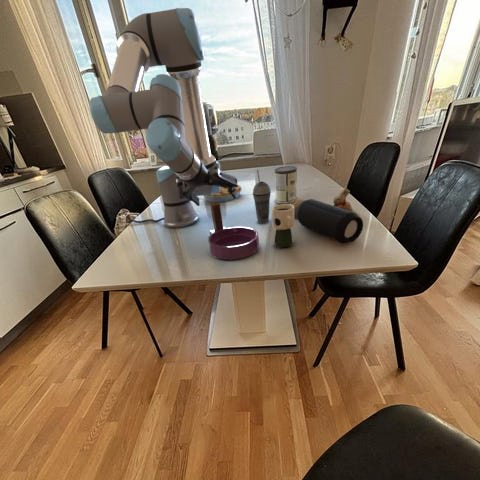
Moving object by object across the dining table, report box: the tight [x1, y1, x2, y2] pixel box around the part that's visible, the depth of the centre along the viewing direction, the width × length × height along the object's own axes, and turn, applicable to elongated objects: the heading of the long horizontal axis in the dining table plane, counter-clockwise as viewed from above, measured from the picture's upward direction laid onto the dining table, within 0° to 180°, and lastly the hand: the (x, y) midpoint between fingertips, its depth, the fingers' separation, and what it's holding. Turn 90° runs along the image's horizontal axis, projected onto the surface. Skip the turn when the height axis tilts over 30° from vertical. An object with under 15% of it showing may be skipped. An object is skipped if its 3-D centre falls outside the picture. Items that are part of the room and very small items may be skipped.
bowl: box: [208, 226, 260, 261], centre depth 98 cm, size 17×17×5 cm
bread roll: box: [290, 198, 306, 219], centre depth 119 cm, size 10×10×8 cm
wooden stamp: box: [208, 202, 227, 237], centre depth 107 cm, size 6×4×12 cm
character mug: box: [271, 203, 295, 248], centre depth 95 cm, size 11×7×13 cm, turn 19°
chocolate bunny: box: [332, 187, 353, 212], centre depth 115 cm, size 6×8×10 cm
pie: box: [203, 184, 243, 203], centre depth 153 cm, size 22×22×5 cm
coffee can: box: [274, 165, 298, 204], centre depth 134 cm, size 10×10×14 cm
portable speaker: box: [296, 198, 364, 244], centre depth 100 cm, size 26×10×10 cm, turn 27°
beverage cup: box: [252, 169, 272, 225], centre depth 112 cm, size 7×7×20 cm
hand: (216, 198), depth 99 cm, fingers open, 13 cm apart
